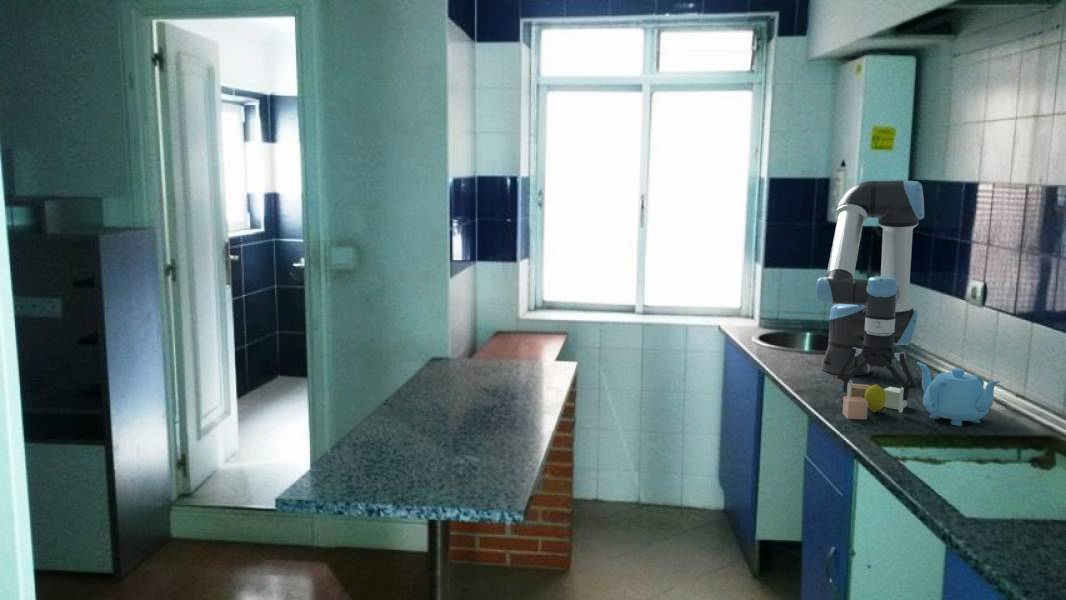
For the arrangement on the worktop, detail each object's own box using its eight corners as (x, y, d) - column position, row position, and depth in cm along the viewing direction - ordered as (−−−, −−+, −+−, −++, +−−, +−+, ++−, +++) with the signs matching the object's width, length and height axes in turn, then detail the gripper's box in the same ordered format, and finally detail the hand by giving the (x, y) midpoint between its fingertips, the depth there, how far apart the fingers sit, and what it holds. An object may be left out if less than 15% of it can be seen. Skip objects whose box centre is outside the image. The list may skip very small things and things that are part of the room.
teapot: (995, 433, 204) (1000, 379, 202) (911, 422, 212) (915, 371, 210) (992, 416, 218) (996, 366, 216) (913, 407, 227) (917, 359, 225)
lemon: (886, 415, 219) (888, 387, 218) (865, 414, 220) (867, 386, 219) (882, 409, 224) (884, 382, 223) (861, 408, 225) (863, 381, 224)
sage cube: (888, 403, 231) (889, 386, 230) (906, 406, 228) (907, 389, 227) (881, 406, 228) (882, 389, 227) (899, 410, 224) (900, 393, 223)
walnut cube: (850, 400, 235) (851, 383, 234) (868, 401, 233) (869, 385, 232) (850, 404, 230) (851, 387, 229) (869, 406, 228) (870, 389, 227)
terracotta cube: (842, 413, 221) (843, 396, 220) (861, 414, 220) (862, 396, 220) (847, 419, 216) (848, 401, 215) (866, 419, 215) (867, 401, 215)
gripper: (829, 330, 222) (824, 404, 225) (928, 340, 209) (922, 417, 212) (834, 326, 228) (830, 398, 231) (930, 335, 215) (925, 410, 219)
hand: (874, 407), depth 222 cm, fingers open, 13 cm apart
